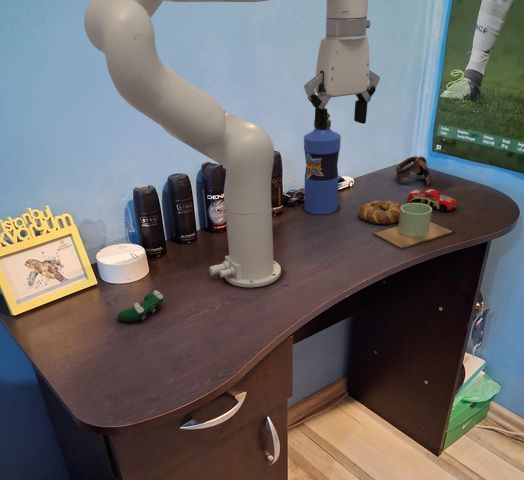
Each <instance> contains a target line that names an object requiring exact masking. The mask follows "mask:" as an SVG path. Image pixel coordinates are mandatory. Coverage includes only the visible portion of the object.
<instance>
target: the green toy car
mask: <svg viewBox="0 0 524 480" xmlns="http://www.w3.org/2000/svg"><path fill="white" fill-rule="evenodd" d="M164 299H165V297H164V295H163V294H162V293H161V292H160V291H159V290H156V289H155V290H154V291H153V292H152V293H148V294H146V295H145V296H144V297H143V302H142V303H140V304H139V302H135V303H134V305H133V306H132V307H131V308H127V309H124V310H121V311H119V313H118V314H117V320H118V321H120V322H134V321H136V320H140V319H141V321H142V320H144V319H146V318H147V316H146V315H147V313H154V312H156V311H157V309H156V307H158V306H160V305H161V304H162V303H163V302H164Z"/></svg>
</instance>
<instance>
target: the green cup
mask: <svg viewBox="0 0 524 480" xmlns="http://www.w3.org/2000/svg"><path fill="white" fill-rule="evenodd" d="M432 213H433V208H431V207H430V206H428V205H426V204H422V203H410V202H408V203H404V204H402V205H401V208H400V216H399V222H398V225H397V226H398V231H399V233H400V234H401V235H403V236H405V237H410V238H420V237H424V236H426V235H427V234H428V233H429V228H430V221H431V220H432V215H433V214H432ZM431 222H432V221H431Z"/></svg>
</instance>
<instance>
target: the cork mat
mask: <svg viewBox="0 0 524 480" xmlns="http://www.w3.org/2000/svg"><path fill="white" fill-rule="evenodd" d="M398 226H399V225H396V226H392V227H390V228H385V229H383V230H379V231H376V232H374V233H373V235H374V236H376V237H378V238H380V239H382V240H384V241H386V242H388V243H389V244H391V245H393V246H395V247H397V248H399V249H406V248H408V247H411V246H415V245H418V244H421V243H424V242H427V241H430V240H431V241H432V240H434V239H437V238H440V237H443V236H446V235H449V234H452V233H453V231H452V230H450V229H448V228H446V227H444V226H442V225H440V224H437V223H435V222H433V221H430V228H429V233H428V234H427V235H426V236H424V237H420V238H410V237H405V236H403V235H401V234H400V233H399V231H398Z"/></svg>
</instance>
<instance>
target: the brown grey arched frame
mask: <svg viewBox="0 0 524 480" xmlns="http://www.w3.org/2000/svg"><path fill="white" fill-rule="evenodd" d="M395 172H396V175H395V178H396V179H397V180H398V181H400V180H401V179H404V178H407V179H411V173H415V174H416V176H424V177H423V179H424V181H425V185H426V186H428V185H430V183H431V175H430V170H429V167H428V165H427V159H426V158H425V157H424V156H419V157H418V156H416V155H414V156H411V157H408V158H406V159H404V160H403V161H400V163H399V164H398V166H397V167H395Z"/></svg>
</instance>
